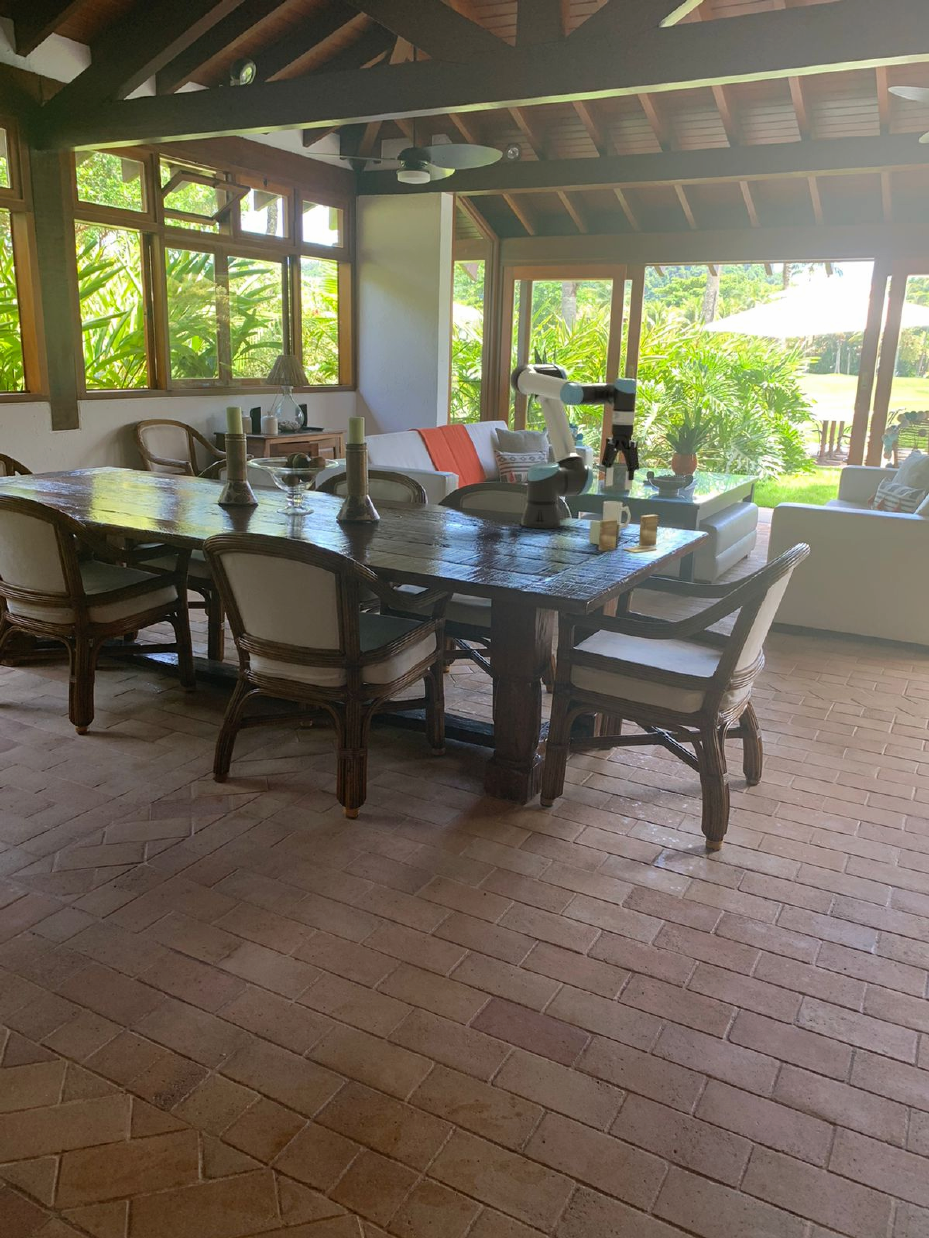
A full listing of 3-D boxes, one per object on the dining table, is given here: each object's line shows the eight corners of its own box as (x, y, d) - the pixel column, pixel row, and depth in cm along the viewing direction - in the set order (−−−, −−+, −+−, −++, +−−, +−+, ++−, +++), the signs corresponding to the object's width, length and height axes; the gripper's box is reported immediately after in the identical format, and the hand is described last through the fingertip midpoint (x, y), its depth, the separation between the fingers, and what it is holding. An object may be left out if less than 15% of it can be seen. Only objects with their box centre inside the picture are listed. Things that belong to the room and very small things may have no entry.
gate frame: (598, 550, 313) (600, 520, 310) (651, 542, 327) (653, 514, 324) (618, 555, 306) (620, 525, 303) (671, 547, 320) (674, 518, 317)
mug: (599, 536, 337) (602, 503, 334) (603, 533, 343) (605, 500, 340) (627, 538, 334) (630, 505, 330) (630, 535, 340) (633, 502, 337)
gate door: (618, 547, 316) (620, 524, 314) (616, 548, 315) (618, 524, 313) (591, 542, 325) (592, 519, 322) (589, 542, 324) (590, 519, 321)
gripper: (593, 421, 334) (590, 484, 340) (637, 426, 317) (632, 492, 323) (609, 421, 338) (605, 483, 344) (653, 425, 321) (648, 490, 327)
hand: (618, 487), depth 334 cm, fingers open, 9 cm apart
